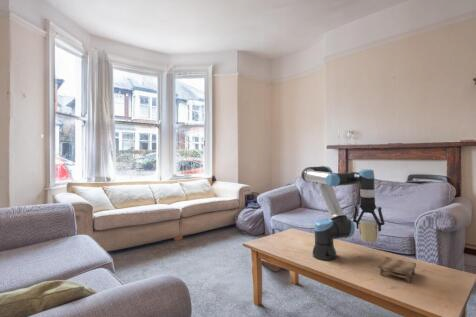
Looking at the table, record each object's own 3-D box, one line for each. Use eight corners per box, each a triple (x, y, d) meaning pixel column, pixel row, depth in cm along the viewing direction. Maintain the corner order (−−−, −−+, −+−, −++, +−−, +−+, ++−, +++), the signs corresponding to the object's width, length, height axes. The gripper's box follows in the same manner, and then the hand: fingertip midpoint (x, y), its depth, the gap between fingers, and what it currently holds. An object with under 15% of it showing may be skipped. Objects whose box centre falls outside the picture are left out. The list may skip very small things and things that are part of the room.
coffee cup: (381, 243, 147) (380, 221, 147) (363, 243, 148) (363, 222, 148) (373, 238, 157) (373, 217, 157) (357, 238, 157) (356, 218, 157)
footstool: (378, 275, 146) (378, 265, 145) (385, 265, 157) (385, 256, 157) (410, 283, 136) (410, 273, 135) (416, 273, 147) (415, 263, 146)
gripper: (346, 196, 155) (347, 234, 156) (388, 198, 143) (389, 240, 143) (349, 194, 161) (350, 231, 162) (389, 196, 149) (391, 236, 149)
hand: (368, 235), depth 152 cm, fingers closed on coffee cup, 9 cm apart
